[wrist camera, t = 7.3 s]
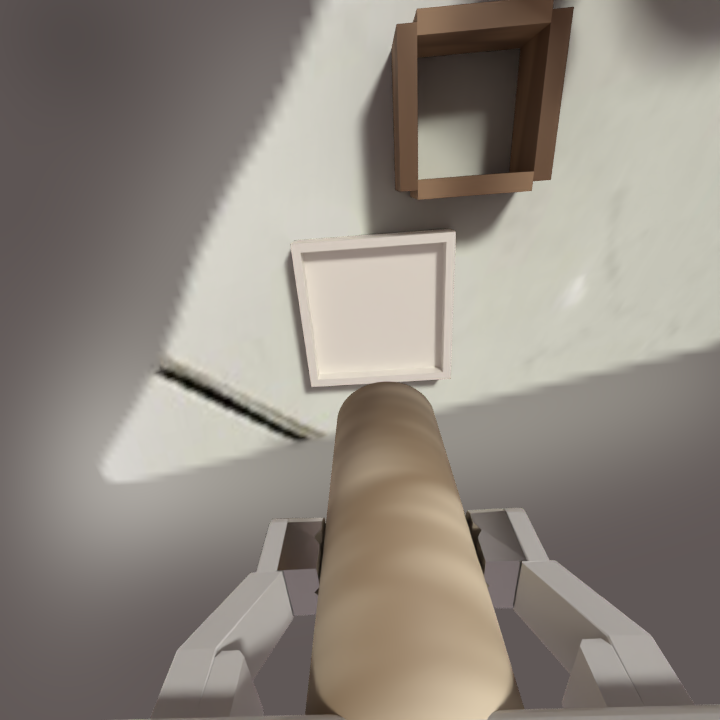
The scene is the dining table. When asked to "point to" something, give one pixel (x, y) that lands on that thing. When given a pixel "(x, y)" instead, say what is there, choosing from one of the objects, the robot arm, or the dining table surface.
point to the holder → (533, 96)
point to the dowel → (401, 577)
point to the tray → (377, 306)
